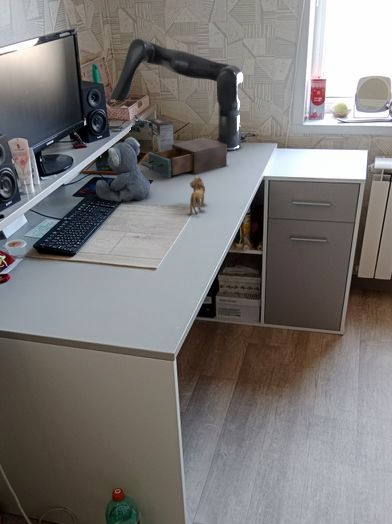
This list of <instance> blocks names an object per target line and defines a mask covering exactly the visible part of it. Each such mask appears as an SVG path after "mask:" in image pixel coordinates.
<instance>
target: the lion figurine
mask: <svg viewBox="0 0 392 524" xmlns="http://www.w3.org/2000/svg"><path fill="white" fill-rule="evenodd" d="M189 187H190V188H191V189H192V190H193V192H192V193H191V195H190V205H189V214H190V215H192V214H195V215H196V216H198V211H199V212H203V211H204V210H203V209H202V208H201V207H202V206H205V205H206V204H205V203H204V201H205V193H206V186H205V183H204V181H203V179H202V178H201V177H199V176H195V177H194V178H193V180H192V181H191V182H189ZM196 207H197V209H198V211H197V210H196Z"/></svg>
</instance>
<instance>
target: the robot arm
mask: <svg viewBox="0 0 392 524" xmlns="http://www.w3.org/2000/svg"><path fill="white" fill-rule="evenodd" d="M141 64H149V65H150V64H151V65H154V66H155V65H156V66H160V67H162V68H164V69H167V70H168V71H169V72H172V73H174V74H176V75H179V76H182V77H185V78H188V79H189V78H191V79H197V80H210V81H213V82H216V102H217V104H218V105H217V107H218V108H217V109H218V116H217V117H218V121H217V122H218V123H217V124H218V125H217V126H218V127H217V128H218V129H217V130H218V131H217V133H218V137H217V140H216V141H218V142H221V143H224V144H227V151H230V152H231V151H236V150H239V149H240V148H241V145H242V144H241V143H245V142H247V141H248V138H247V137H246V136H248V135H253V136H257V133H255V134H251V133H250V132H251V131H248V132H245V133H243V134H242V125H241V124H240V117H241V115H240V114H241V113H240V111H241V109H240V108H241V101H240V99H239V96H238V88H239V87H240V86H241V84H242V83H243V81H244V74H243V71H242V70H241V69H240V68H239V67H238V66H237V65H234V64H228V63H224V62H223V63H222V62H217V61H214V60H210V59H208V58H206V57H203V56H200V55H197V54H194V53H191V52H188V51H184V50H180V49H175V48H174V49H173V48H166V47H164V46H161V45H158V44H157V43H154V42H152V41H151V40H147V39H144V38H135V39H133V40H131V42H130V43H129V45H128V49H127V52H126V55H125V59H124V62H123V64H122V68H121V71H120V73H119V74H118V75H119V76H118V77H117V80H116V82H115V85H114V87H112V88H113V89H112V90H111V93H110V95H109V98H108V99H109V100H110V99H116V100H124V99H126V98H127V99H128V97H129V95H130V92H131V89H132V85H133V81H134V77H135V74H136V72H137V69H138V68H139V66H140V65H141ZM127 99H126V100H127ZM134 116H135V118H136V119H138V118H139V119H138V121H136V120H134V122H133V125H132V127H131V130H130V131H129V132H128V133H135V132H136V133H138V134H139V133H141V132H142V131H141V130H142V129H143V130H148V129H151V120H152V119H151V118H146V119H142V118H140V116H139V115H138V114H135V115H134Z"/></svg>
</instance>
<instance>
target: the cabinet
mask: <svg viewBox="0 0 392 524" xmlns="http://www.w3.org/2000/svg"><path fill="white" fill-rule="evenodd" d="M172 148H178V149H181V150H184V151H187V152H190V153H193V170H191V171H188V173H191V174H193V175H197V174H201V173H205V172H208V171H212V170H216V169H220V168H224V167H226V166H227V158H228V157H227V144H224V143H221V142H218V141H217V140H214V139H211V138H208V137H205V136H202V137H198V138H194V139H189V140H186V141H181V142H176V143H173V144H172Z"/></svg>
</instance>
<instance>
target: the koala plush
mask: <svg viewBox="0 0 392 524" xmlns="http://www.w3.org/2000/svg"><path fill="white" fill-rule="evenodd" d="M140 147H141V144H140V143H139V142H138V140H136V138H134V137H133V136H129V137H127V138H126V139H124V142H118V143H115V144H114V145H113V147H110V148H108V158H107V163H108V165H109V168H110V169H111V170H112V171H113V173H115V174H116V175H117V176H116V178H114V179H113V180H112V181H111V183H110V185H109V184H108V182H107V181H106V180H104V179H101V180H100V179H99V180H97V181H96V183H95V193H96V195H97V197H98V198H99V199H101V200H104V201H114V202H117V203H120V202H124V201H125V202H130V201H133V200H135V201H142V200H144V199H146V198H147V197H148V196H149V195H150V192H151V183H150V180H149V179H148V178H146V177H145V176H144V174H143V173H142V170H141V168H140V166H138V158H137V156H139V155H140V151H141V149H140Z"/></svg>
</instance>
